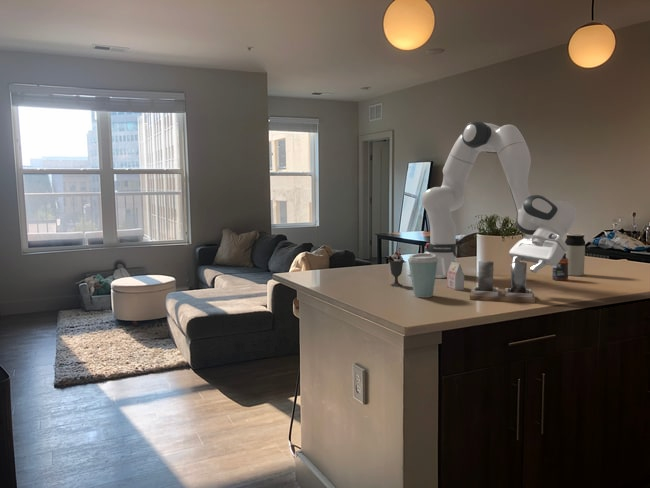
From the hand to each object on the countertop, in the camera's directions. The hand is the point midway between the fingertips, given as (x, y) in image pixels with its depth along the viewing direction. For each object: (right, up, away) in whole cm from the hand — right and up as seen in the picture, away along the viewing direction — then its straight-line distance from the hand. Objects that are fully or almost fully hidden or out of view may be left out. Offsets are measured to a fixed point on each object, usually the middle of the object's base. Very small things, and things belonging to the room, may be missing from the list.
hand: (522, 269), depth 181 cm
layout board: (-7, -10, +2) cm, 12 cm away
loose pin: (-1, -9, 0) cm, 9 cm away
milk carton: (-18, -8, +21) cm, 29 cm away
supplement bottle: (+29, -6, +36) cm, 47 cm away
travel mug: (+41, -5, +48) cm, 63 cm away
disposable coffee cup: (-33, -10, +7) cm, 36 cm away
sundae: (-40, -8, +28) cm, 49 cm away
